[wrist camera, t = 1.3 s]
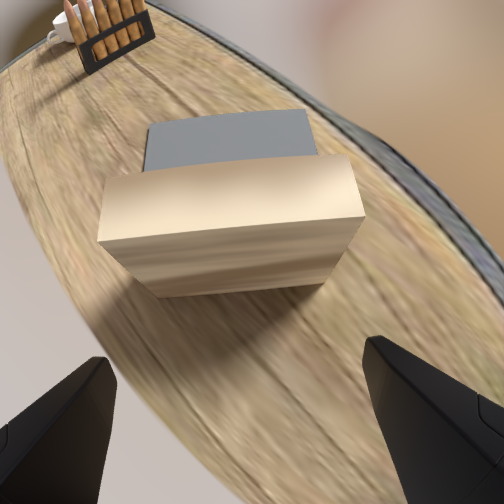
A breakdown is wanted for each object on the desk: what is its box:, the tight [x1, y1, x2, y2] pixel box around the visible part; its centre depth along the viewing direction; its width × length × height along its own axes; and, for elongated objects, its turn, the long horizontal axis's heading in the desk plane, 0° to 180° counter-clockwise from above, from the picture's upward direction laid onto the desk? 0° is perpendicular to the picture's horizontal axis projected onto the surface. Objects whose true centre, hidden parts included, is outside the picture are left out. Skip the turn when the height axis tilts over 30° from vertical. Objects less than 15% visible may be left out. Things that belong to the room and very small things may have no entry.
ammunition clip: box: [64, 0, 156, 75], centre depth 30 cm, size 11×2×12 cm, turn 133°
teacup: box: [47, 0, 98, 44], centre depth 37 cm, size 10×8×5 cm
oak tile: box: [97, 154, 365, 298], centre depth 19 cm, size 4×12×10 cm, turn 95°
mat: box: [144, 109, 318, 172], centre depth 27 cm, size 13×15×1 cm
